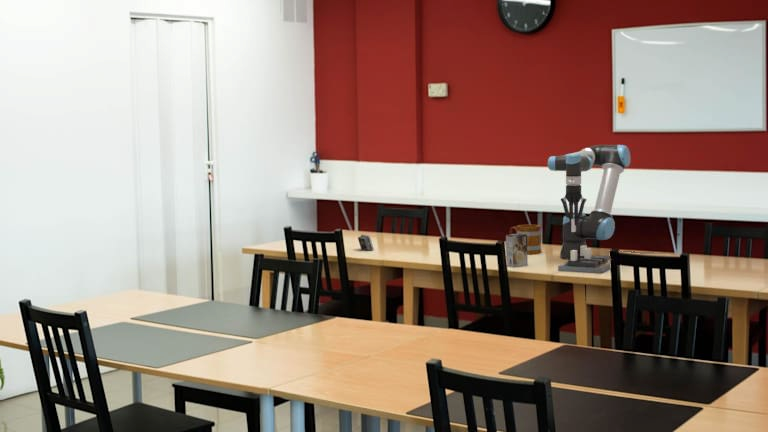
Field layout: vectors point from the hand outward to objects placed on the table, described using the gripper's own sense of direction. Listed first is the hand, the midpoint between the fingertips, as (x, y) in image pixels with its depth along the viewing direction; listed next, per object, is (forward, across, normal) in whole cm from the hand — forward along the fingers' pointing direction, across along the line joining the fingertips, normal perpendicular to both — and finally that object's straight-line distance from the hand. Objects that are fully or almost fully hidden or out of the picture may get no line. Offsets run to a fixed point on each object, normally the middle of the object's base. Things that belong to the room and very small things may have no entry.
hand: (573, 231), depth 512 cm
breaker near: (+13, +3, -8) cm, 16 cm away
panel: (+18, +7, 0) cm, 19 cm away
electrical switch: (+18, -129, +17) cm, 131 cm away
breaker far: (+13, +3, +8) cm, 16 cm away
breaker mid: (+13, +7, 0) cm, 15 cm away
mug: (+18, -40, +37) cm, 58 cm away
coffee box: (+18, -29, -4) cm, 34 cm away
